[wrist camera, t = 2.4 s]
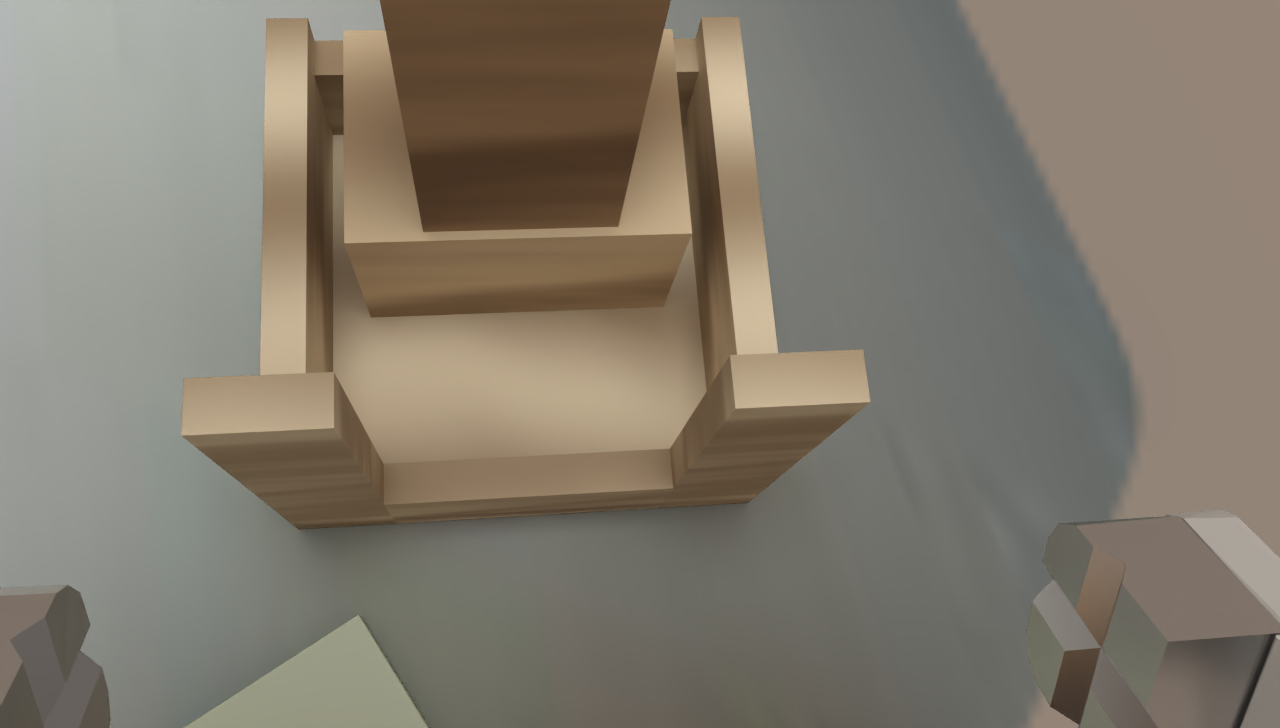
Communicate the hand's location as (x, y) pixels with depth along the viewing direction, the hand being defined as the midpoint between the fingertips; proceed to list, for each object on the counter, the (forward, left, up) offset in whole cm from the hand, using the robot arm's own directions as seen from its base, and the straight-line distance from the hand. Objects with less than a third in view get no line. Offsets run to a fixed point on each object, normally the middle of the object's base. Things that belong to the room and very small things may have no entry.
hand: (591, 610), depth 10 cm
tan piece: (-9, +5, -20) cm, 23 cm away
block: (-10, +6, -14) cm, 19 cm away
